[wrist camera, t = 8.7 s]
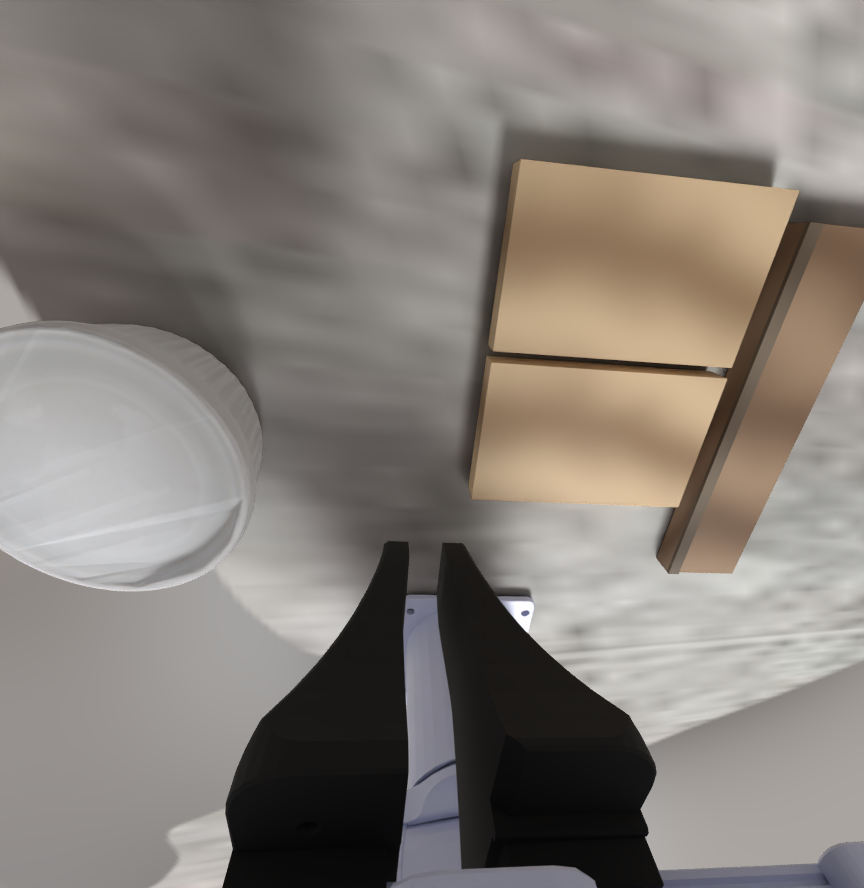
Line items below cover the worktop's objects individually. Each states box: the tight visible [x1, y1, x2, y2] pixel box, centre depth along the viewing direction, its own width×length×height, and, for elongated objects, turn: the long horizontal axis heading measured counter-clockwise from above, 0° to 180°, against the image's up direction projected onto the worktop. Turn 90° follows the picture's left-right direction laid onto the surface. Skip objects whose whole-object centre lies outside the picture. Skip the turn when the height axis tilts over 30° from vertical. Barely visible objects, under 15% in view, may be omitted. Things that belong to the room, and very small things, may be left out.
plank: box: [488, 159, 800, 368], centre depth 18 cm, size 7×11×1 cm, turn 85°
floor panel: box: [657, 222, 864, 574], centre depth 22 cm, size 18×4×1 cm, turn 175°
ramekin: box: [0, 320, 263, 591], centre depth 19 cm, size 11×11×5 cm
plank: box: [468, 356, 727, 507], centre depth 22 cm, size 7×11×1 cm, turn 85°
